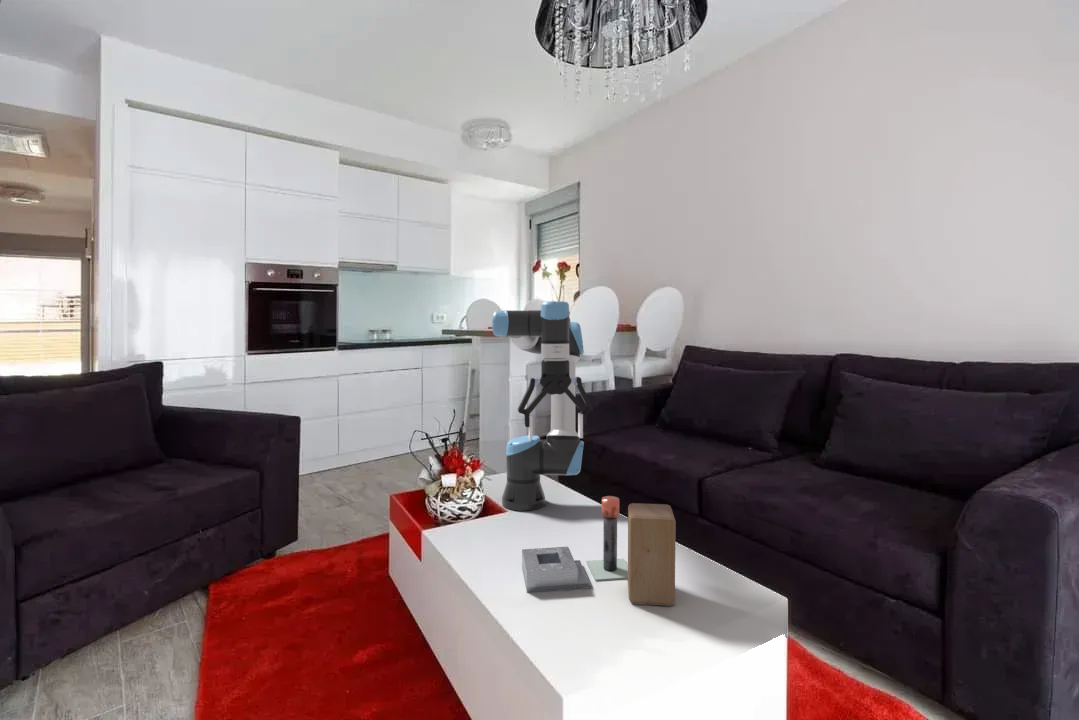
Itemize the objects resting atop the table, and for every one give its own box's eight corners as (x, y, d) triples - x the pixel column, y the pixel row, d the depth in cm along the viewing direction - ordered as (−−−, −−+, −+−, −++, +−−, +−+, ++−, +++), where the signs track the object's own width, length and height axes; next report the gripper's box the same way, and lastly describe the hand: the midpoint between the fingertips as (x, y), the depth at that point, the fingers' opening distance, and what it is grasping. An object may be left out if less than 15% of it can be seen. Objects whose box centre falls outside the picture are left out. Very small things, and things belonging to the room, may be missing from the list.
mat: (586, 562, 135) (586, 560, 135) (623, 559, 136) (623, 558, 136) (595, 581, 125) (595, 579, 125) (635, 578, 126) (635, 576, 126)
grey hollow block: (522, 568, 131) (521, 549, 131) (579, 564, 133) (579, 545, 133) (526, 592, 120) (526, 571, 119) (590, 587, 121) (590, 567, 121)
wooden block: (628, 605, 114) (629, 516, 113) (627, 582, 124) (628, 501, 122) (675, 608, 112) (676, 519, 111) (670, 585, 122) (671, 503, 121)
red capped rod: (603, 573, 128) (604, 502, 127) (599, 565, 132) (599, 496, 131) (621, 572, 128) (621, 501, 127) (616, 564, 133) (616, 495, 131)
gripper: (509, 361, 132) (510, 442, 133) (604, 359, 135) (604, 439, 136) (507, 359, 139) (508, 436, 141) (597, 357, 142) (597, 433, 144)
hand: (555, 438), depth 139 cm, fingers open, 13 cm apart
